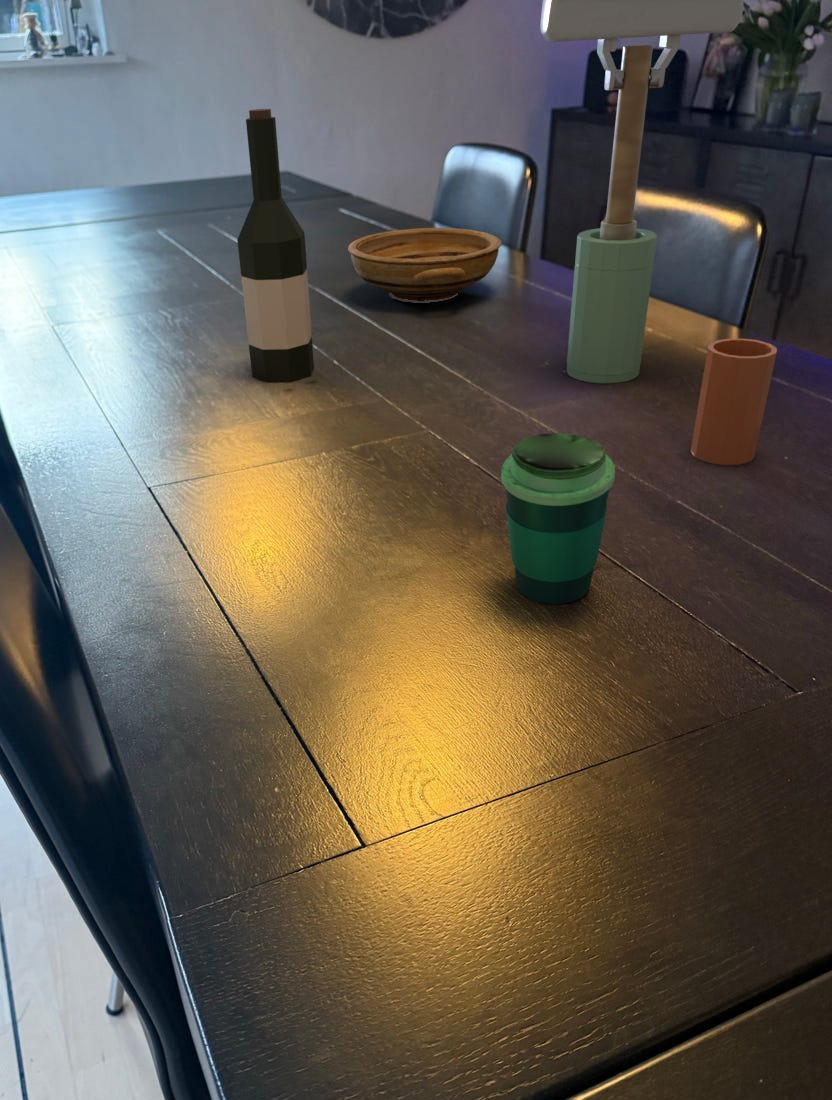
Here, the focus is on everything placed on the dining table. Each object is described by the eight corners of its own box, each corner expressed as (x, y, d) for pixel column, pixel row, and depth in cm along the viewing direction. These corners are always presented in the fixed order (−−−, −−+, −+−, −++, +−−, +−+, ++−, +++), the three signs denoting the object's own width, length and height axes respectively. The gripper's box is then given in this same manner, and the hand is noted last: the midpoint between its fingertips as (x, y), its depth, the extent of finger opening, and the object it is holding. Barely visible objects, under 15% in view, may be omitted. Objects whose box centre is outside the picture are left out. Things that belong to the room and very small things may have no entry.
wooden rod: (625, 262, 110) (650, 43, 98) (636, 270, 107) (663, 44, 95) (592, 264, 110) (613, 45, 98) (602, 272, 107) (624, 46, 95)
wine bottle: (258, 386, 117) (229, 115, 100) (246, 367, 124) (217, 110, 107) (322, 377, 119) (304, 109, 102) (306, 359, 126) (287, 104, 109)
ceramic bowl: (523, 312, 140) (526, 256, 135) (364, 325, 138) (362, 269, 133) (474, 268, 164) (475, 220, 160) (339, 280, 162) (336, 230, 158)
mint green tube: (626, 358, 120) (642, 225, 111) (648, 381, 112) (667, 240, 103) (558, 363, 119) (569, 229, 110) (576, 385, 112) (589, 244, 103)
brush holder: (738, 444, 95) (760, 336, 89) (764, 468, 90) (788, 355, 84) (681, 448, 95) (698, 340, 89) (703, 472, 90) (723, 360, 84)
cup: (619, 587, 73) (639, 443, 66) (565, 632, 68) (580, 482, 62) (532, 557, 78) (541, 420, 71) (475, 597, 73) (480, 454, 66)
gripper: (741, -78, 94) (717, 81, 102) (541, -67, 93) (532, 92, 101) (768, -84, 89) (741, 84, 96) (556, -72, 88) (546, 96, 96)
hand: (633, 88), depth 99 cm, fingers closed on wooden rod, 3 cm apart
